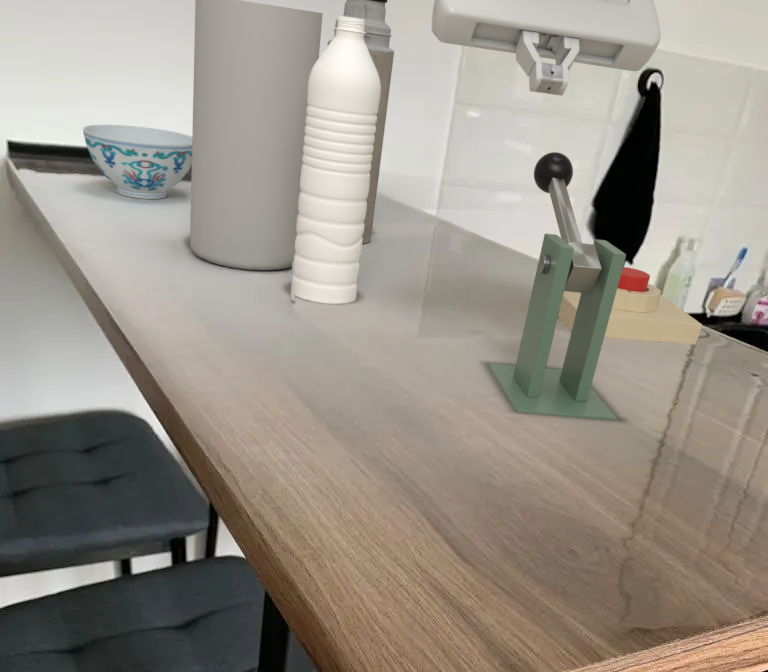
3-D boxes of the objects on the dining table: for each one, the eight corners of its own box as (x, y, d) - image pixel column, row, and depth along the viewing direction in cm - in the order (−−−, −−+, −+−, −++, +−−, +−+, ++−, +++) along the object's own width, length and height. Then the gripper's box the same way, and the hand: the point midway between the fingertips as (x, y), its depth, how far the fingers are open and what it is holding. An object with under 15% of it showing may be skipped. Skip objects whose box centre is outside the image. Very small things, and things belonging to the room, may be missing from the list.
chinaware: (180, 211, 114) (181, 148, 110) (67, 194, 114) (64, 131, 110) (208, 193, 127) (210, 137, 123) (107, 177, 127) (106, 121, 123)
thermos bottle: (317, 226, 117) (339, -13, 103) (374, 235, 117) (404, -3, 103) (304, 237, 110) (327, -17, 97) (365, 247, 110) (396, -6, 96)
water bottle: (354, 316, 84) (390, 23, 71) (287, 308, 83) (312, 11, 71) (355, 292, 91) (387, 23, 79) (293, 284, 91) (316, 12, 78)
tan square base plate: (651, 321, 97) (664, 277, 95) (692, 355, 88) (708, 307, 85) (541, 310, 95) (552, 264, 93) (572, 343, 86) (584, 293, 83)
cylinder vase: (166, 252, 95) (169, -11, 83) (231, 237, 105) (242, 1, 93) (262, 279, 91) (280, 6, 79) (320, 260, 101) (344, 16, 89)
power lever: (526, 176, 74) (538, 141, 71) (561, 180, 74) (574, 146, 72) (554, 294, 65) (569, 260, 63) (594, 298, 66) (610, 265, 63)
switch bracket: (485, 376, 74) (516, 223, 68) (573, 383, 75) (612, 234, 69) (513, 424, 65) (552, 254, 59) (613, 432, 67) (661, 266, 60)
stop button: (636, 285, 91) (641, 268, 90) (651, 296, 88) (656, 279, 87) (601, 281, 91) (605, 264, 90) (614, 292, 87) (619, 275, 86)
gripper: (635, 6, 83) (644, 129, 79) (427, -28, 79) (427, 98, 76) (667, -51, 77) (679, 78, 73) (443, -91, 73) (444, 43, 70)
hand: (549, 88), depth 74 cm, fingers closed
